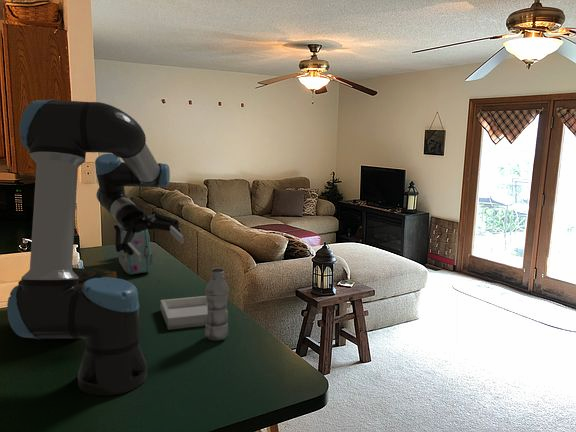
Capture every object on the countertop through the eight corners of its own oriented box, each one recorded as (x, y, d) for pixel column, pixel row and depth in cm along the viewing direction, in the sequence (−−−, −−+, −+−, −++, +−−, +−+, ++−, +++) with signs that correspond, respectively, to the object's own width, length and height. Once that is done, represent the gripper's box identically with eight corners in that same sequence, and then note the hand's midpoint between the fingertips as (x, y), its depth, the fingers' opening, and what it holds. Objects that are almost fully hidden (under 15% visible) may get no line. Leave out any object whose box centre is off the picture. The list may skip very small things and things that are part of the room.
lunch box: (154, 276, 187) (154, 223, 183) (127, 279, 182) (126, 225, 178) (140, 259, 210) (139, 212, 206) (116, 261, 205) (115, 213, 201)
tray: (227, 322, 144) (228, 311, 144) (168, 329, 137) (168, 318, 137) (215, 304, 159) (215, 294, 158) (160, 310, 152) (160, 300, 151)
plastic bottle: (233, 338, 133) (234, 270, 130) (214, 345, 128) (215, 275, 125) (218, 331, 137) (219, 265, 134) (200, 338, 132) (200, 270, 129)
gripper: (164, 210, 157) (199, 242, 144) (90, 238, 142) (122, 276, 130) (162, 191, 152) (198, 223, 140) (86, 218, 138) (118, 255, 126)
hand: (161, 248), depth 135 cm, fingers open, 13 cm apart
